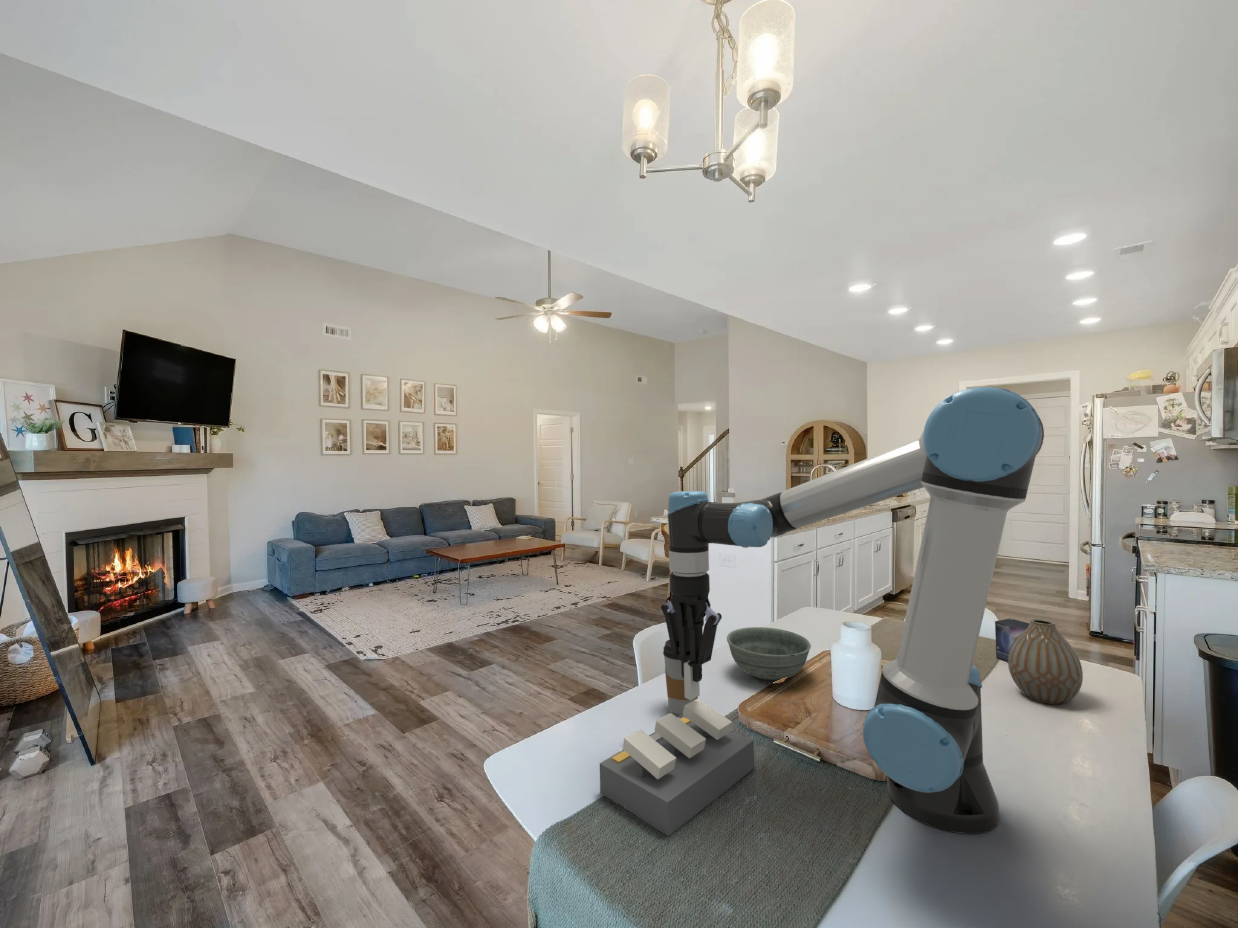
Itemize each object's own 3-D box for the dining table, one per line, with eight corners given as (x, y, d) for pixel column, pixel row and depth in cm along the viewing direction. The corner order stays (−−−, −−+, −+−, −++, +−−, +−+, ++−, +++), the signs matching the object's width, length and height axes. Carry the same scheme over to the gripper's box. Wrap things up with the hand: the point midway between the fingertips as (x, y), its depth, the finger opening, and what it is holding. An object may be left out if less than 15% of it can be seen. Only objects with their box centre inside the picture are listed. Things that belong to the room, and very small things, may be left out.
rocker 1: (674, 768, 84) (676, 757, 83) (657, 779, 81) (659, 768, 80) (639, 739, 89) (640, 729, 89) (622, 748, 86) (624, 737, 86)
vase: (1097, 704, 114) (1094, 625, 114) (1060, 716, 109) (1058, 633, 110) (1031, 682, 126) (1029, 610, 127) (996, 692, 122) (993, 617, 122)
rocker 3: (730, 731, 95) (732, 721, 94) (717, 739, 92) (719, 729, 92) (695, 707, 100) (697, 698, 100) (682, 714, 97) (684, 705, 97)
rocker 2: (703, 748, 89) (705, 738, 89) (689, 758, 86) (691, 747, 86) (669, 722, 95) (670, 712, 94) (654, 730, 92) (656, 720, 92)
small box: (994, 658, 142) (992, 620, 142) (1011, 655, 144) (1010, 617, 144) (1035, 672, 132) (1033, 631, 132) (1053, 669, 134) (1051, 628, 134)
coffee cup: (700, 720, 112) (699, 650, 112) (662, 717, 113) (660, 648, 113) (702, 702, 120) (700, 637, 120) (666, 700, 121) (664, 636, 122)
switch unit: (754, 767, 93) (753, 731, 94) (668, 836, 77) (667, 792, 77) (688, 738, 104) (687, 706, 104) (600, 792, 87) (599, 754, 87)
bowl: (737, 658, 147) (736, 622, 147) (815, 668, 138) (814, 631, 138) (718, 686, 129) (717, 646, 129) (807, 701, 119) (806, 657, 119)
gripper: (729, 573, 96) (732, 700, 96) (675, 565, 106) (677, 680, 106) (705, 580, 91) (708, 714, 91) (650, 570, 101) (653, 692, 100)
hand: (692, 696), depth 98 cm, fingers closed
